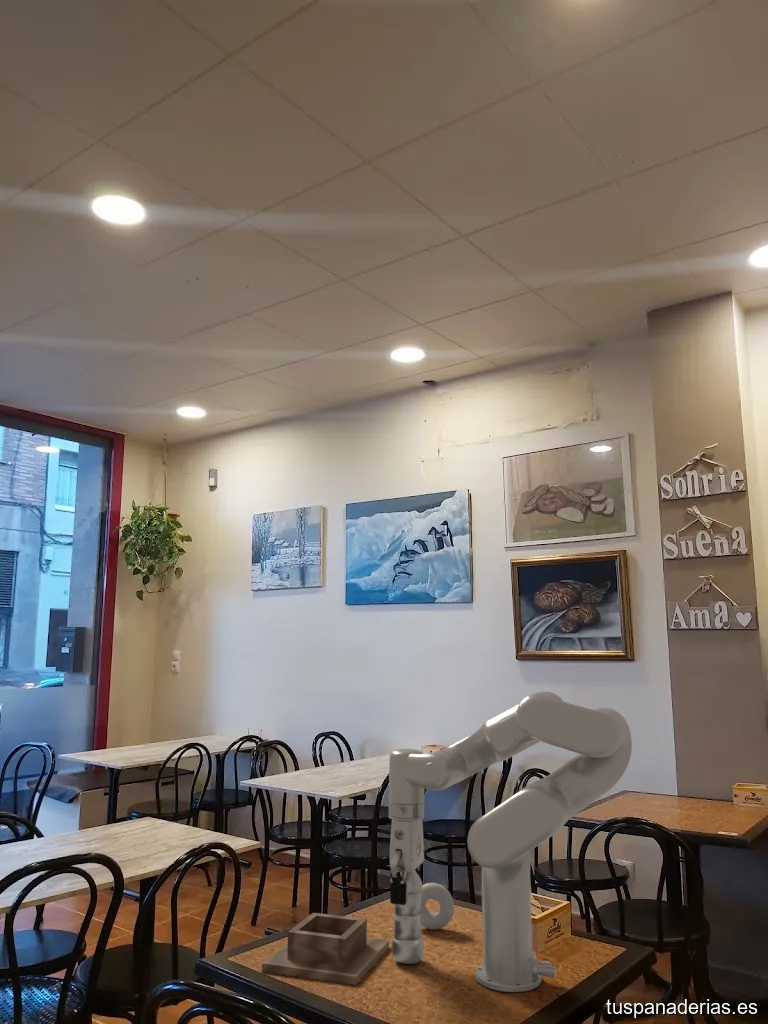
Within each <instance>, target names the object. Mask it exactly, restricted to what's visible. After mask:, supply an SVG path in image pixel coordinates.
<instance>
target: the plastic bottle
mask: <svg viewBox="0 0 768 1024" xmlns="http://www.w3.org/2000/svg"><path fill="white" fill-rule="evenodd" d="M398 867H402V866H398ZM400 874H401V877H402V872H400ZM405 883H406V904H405V905H398V904H392V905H393V919H394V920H393V934H392V935H393V936H392V940H391V947H390V948H391V955H392V957H393V959H394V961H395V962H396V963H398V964H399V963H400V964H405V965H411V964H417V963H419V962H421V960H422V959H423V958H424V951H425V947H424V946H425V945H424V939H423V936H422V935H423V933H422V925H421V922H420V910H421V897H422V887H423V885H424V884H423V881H422V879H421V876H420V877H419V875H418V874H417V873H416V871H415V870H414V871H413V872H409V870H407V873H406V878H405Z"/></svg>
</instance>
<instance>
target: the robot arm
mask: <svg viewBox="0 0 768 1024" xmlns="http://www.w3.org/2000/svg"><path fill="white" fill-rule="evenodd" d="M542 742H543V743H545V744H548V745H550V746H554V747H557V748H559V749H560V748H561V749H562V750H563V749H564V750H567V751H569V752H573V753H577V754H576V755H575V756H574V757H573V758H571V759H570V760H569V761H567V762H566V763H564V764H563V765H562V766H560V767H559V768H558V769H556V770H554V771H553V772H551V773H550V774H548V775H546V776H544V777H542V778H541V779H539V780H536V781H533V782H532V783H530V784H528V785H527V786H524V788H521V790H519V791H517V792H516V793H515V794H512V795H511V797H509V798H507V799H505V801H503V802H501V803H500V804H498V805H497V806H495V807H494V808H492V809H491V810H489V811H488V812H486V813H485V814H484V815H482V816H481V817H479V818H478V819H477V820H475V821H474V822H473V824H472V825H471V826H470V829H469V831H468V835H467V848H468V852H469V854H470V857H471V858H472V859H473V861H474V862H476V863H477V864H478V865H479V866H480V867H482V868H481V916H482V920H481V923H482V927H481V928H482V959H483V960H482V962H483V963H482V964H480V965H478V966H477V968H476V969H475V972H474V973H475V980H476V981H477V982H478V983H479V984H480V985H482V986H483V987H484V988H485V987H486V988H488V989H490V990H495V991H496V992H497V991H499V992H504V993H523V992H529V991H532V990H534V989H536V988H538V987H539V986H540V984H541V983H542V976H544V977H546V978H547V977H548V978H554V979H556V977H557V968H556V965H552V963H551V961H543V960H542V961H541V960H540V959H538V958H537V956H536V955H537V953H536V951H533V936H532V934H533V933H532V907H531V906H532V905H531V903H532V902H531V893H532V892H531V891H532V890H531V858H532V850H534V849H535V848H536V847H538V846H539V845H541V844H543V843H544V842H546V841H547V840H549V839H550V838H552V837H553V836H554V835H555V834H556V833H557V832H559V831H560V830H561V829H562V828H563V827H564V826H565V824H566V823H567V822H568V821H569V820H570V819H571V818H573V817H574V816H575V815H577V813H579V812H581V811H582V810H583V809H585V808H587V807H589V806H590V805H591V804H592V803H593V802H595V801H597V800H598V799H599V798H601V797H602V796H604V795H605V794H606V793H607V792H608V791H610V790H611V789H612V788H613V787H614V786H615V785H616V784H617V783H618V782H619V781H620V780H621V778H622V777H623V775H624V774H625V773H626V770H627V768H628V766H629V763H630V760H631V757H632V751H633V744H632V743H633V742H632V734H631V730H630V727H629V724H628V721H627V720H626V719H625V717H624V716H623V715H622V714H621V713H620V712H618V711H617V710H615V709H612V708H608V707H599V708H595V709H592V708H587V707H584V706H580V705H577V704H574V703H573V704H572V703H569V702H566V701H564V700H563V699H562V698H561V697H560V696H559V695H558V694H556V693H554V692H551V691H540V692H534V693H531V694H528V695H527V696H525V697H524V698H523V699H522V700H521V701H520V702H519V703H517V704H516V705H514V706H512V707H510V708H508V709H506V710H504V711H502V712H501V713H498V714H496V715H494V716H493V717H491V718H488V719H487V720H486V721H484V722H483V723H482V725H480V727H479V729H477V730H476V731H474V732H473V733H471V734H470V735H468V736H466V737H465V738H462V739H461V740H459V741H458V742H457V741H456V742H455V743H454V744H452V745H449V746H448V747H445V748H444V749H440V750H436V751H433V752H429V753H423V751H421V750H419V749H413V748H398V749H394V750H392V751H391V753H390V755H389V762H388V763H389V769H388V772H389V774H388V775H389V777H388V781H389V782H388V818H389V819H391V827H390V838H389V839H390V843H389V867H390V874H389V876H390V880H389V883H390V901H389V902H390V904H392V905H393V904H398V905H405V904H406V883H405V878H406V873H407V870H409V872H413V871H414V870H415V871H416V873H417V874H418V875H419V877H420V878H421V875H420V874H421V872H420V868H421V865H422V864H423V862H424V860H425V849H424V848H425V847H424V846H425V845H424V844H425V843H424V826H423V825H424V823H423V820H424V819H425V790H429V791H434V792H435V791H436V792H437V791H442V790H445V789H448V788H449V787H452V786H453V785H456V784H458V783H460V782H463V781H464V780H465V779H467V778H470V777H471V776H473V775H475V774H477V773H478V772H479V773H480V772H481V771H482V770H485V769H487V768H488V767H490V766H492V765H494V764H497V763H501V762H504V761H506V760H508V759H511V758H512V757H514V756H516V755H518V754H519V753H521V752H523V751H526V750H527V749H529V748H531V747H534V746H536V745H537V744H538V743H542ZM398 866H402V867H398ZM400 872H402V877H401V874H400Z"/></svg>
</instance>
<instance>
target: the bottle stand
mask: <svg viewBox="0 0 768 1024" xmlns="http://www.w3.org/2000/svg"><path fill="white" fill-rule="evenodd" d="M367 920H368V919H367V918H362V917H354V916H352V917H351V916H344V915H335V914H327V913H320V912H312V913H311V914H309V915H308V916H307V917H305V918H304V919H303V920H302V921H300V922H299V923H298V924H296V925H295V926H294V927H292V928H291V929H290V930H289V931H287V943H286V944H284V945H283V946H282V947H280V948H279V949H277V951H276V952H274V953H272V955H271V956H269V957H268V958H267V959H265V960H264V961H263V962H262V963H261V972H262V973H268V972H270V973H269V974H275V973H278V974H277V975H282V974H285V975H284V976H289V975H291V976H290V977H296V976H297V977H299V978H303V979H310V980H316V979H318V981H323V980H326V981H325V982H330V981H334V982H333V983H337V982H340V983H339V984H344V983H345V985H351V984H353V985H352V986H357V985H358V984H357V983H360V982H361V980H362V979H363V978H364V977H365V976H366V975H365V974H368V972H369V971H370V970H371V969H372V968H373V967H372V966H375V964H376V963H377V962H378V961H379V960H380V959H381V958H382V957H383V955H384V954H385V953H386V952H387V951H388V950H389V949H390V939H389V940H387V939H380V938H373V937H372V938H371V937H368V935H367V930H368V927H367V923H368V922H367ZM388 948H389V949H388ZM387 949H388V950H387ZM380 957H381V958H380ZM379 958H380V959H379ZM378 959H379V960H378ZM371 967H372V968H371ZM364 975H365V976H364ZM363 976H364V977H363ZM297 977H296V978H297ZM362 977H363V978H362ZM361 978H362V979H361ZM356 984H357V985H356Z"/></svg>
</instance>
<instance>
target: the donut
mask: <svg viewBox="0 0 768 1024" xmlns="http://www.w3.org/2000/svg"><path fill="white" fill-rule="evenodd" d="M422 885H423V887H422V897H421V910H420V922H421V927H424V928H425V929H426V930H427V929H428V930H432V931H434V930H436V931H437V930H441V929H442V928H444V927H445V928H446V926H447V925H448V924H449V923H450V922H451V920H452V919H453V916H454V914H455V901H454V898H453V897H452V894H451V892H450V891H449V890H448V889H447V888H446V887H445V886H444V885H442V884H440V883H436V882H426V883H424V884H422ZM431 899H433V900H435V901H437V902H438V904H439V910H438V911H437V912H430V911H429V910H428V908H427V902H428V901H429V900H431Z"/></svg>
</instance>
